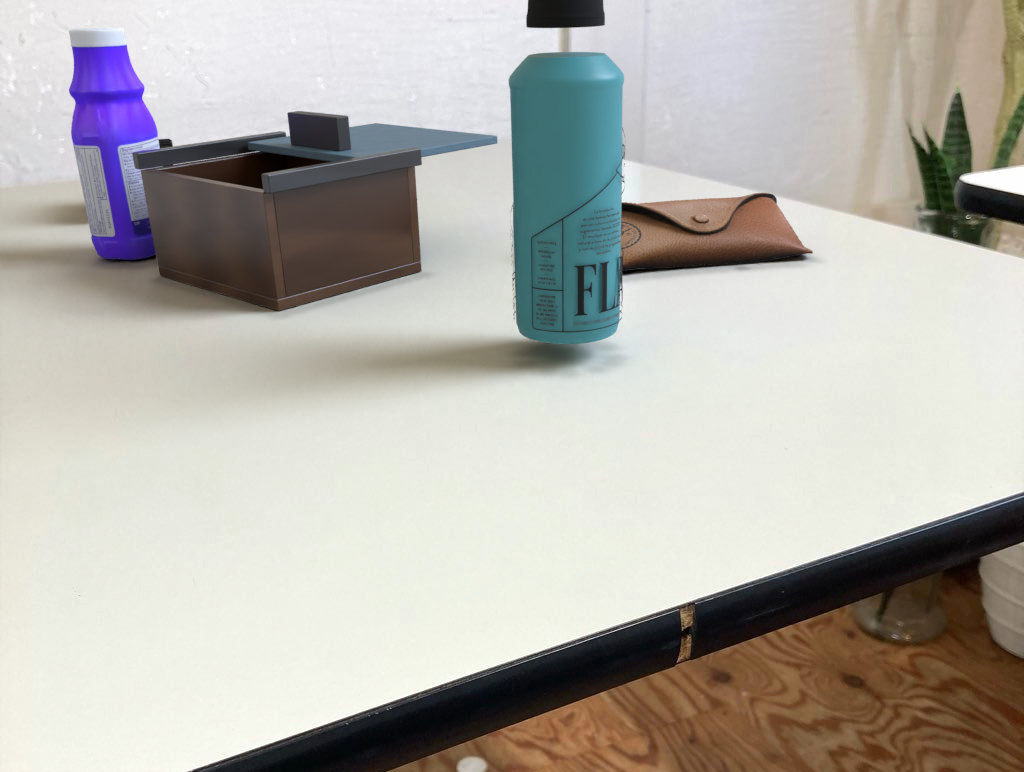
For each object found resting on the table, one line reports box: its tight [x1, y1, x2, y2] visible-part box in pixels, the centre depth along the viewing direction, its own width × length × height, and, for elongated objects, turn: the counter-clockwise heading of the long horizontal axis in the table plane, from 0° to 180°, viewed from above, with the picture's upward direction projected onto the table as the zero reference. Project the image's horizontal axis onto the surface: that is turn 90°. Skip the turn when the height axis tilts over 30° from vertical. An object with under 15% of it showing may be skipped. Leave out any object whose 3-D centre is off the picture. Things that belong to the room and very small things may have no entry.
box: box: [132, 130, 423, 312], centre depth 79 cm, size 17×14×9 cm
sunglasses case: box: [620, 192, 814, 272], centre depth 83 cm, size 18×7×7 cm
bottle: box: [68, 27, 163, 261], centre depth 84 cm, size 7×6×17 cm
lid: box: [248, 110, 498, 162], centre depth 83 cm, size 15×14×3 cm
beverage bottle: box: [508, 0, 626, 345], centre depth 58 cm, size 6×7×20 cm
